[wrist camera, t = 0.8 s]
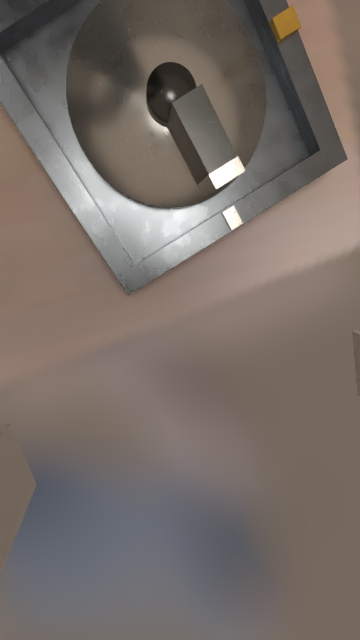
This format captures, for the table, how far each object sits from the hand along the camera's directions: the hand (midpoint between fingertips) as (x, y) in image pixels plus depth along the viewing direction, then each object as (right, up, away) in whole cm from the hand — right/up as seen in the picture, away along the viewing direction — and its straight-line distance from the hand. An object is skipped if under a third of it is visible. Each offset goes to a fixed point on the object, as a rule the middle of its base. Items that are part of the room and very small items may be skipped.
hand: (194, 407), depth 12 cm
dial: (-2, +22, +16) cm, 27 cm away
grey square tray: (-2, +23, +19) cm, 29 cm away
